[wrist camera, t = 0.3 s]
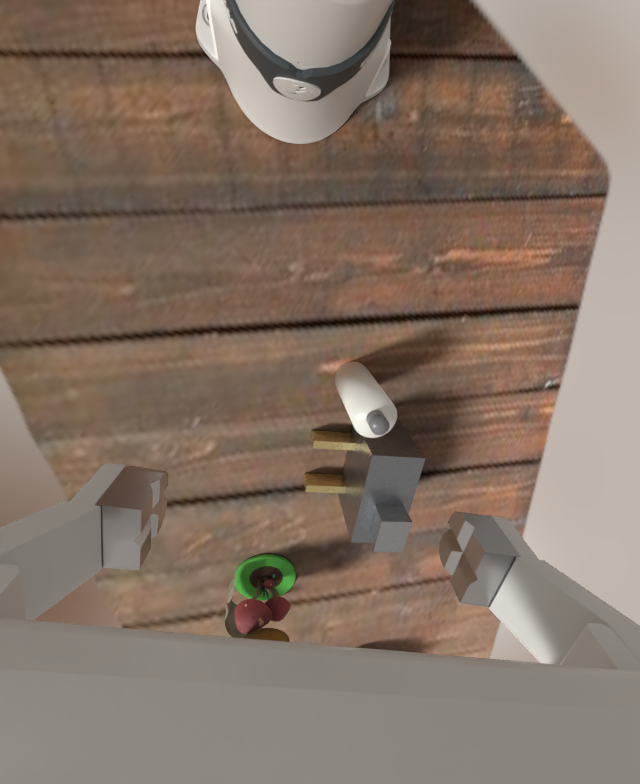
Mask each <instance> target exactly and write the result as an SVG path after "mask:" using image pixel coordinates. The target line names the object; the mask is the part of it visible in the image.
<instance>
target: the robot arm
mask: <svg viewBox="0 0 640 784" xmlns="http://www.w3.org/2000/svg"><path fill="white" fill-rule="evenodd" d="M395 1H396V0H200V5H199V10H198V16H197V21H196V34H197V39H198V42H199V44H200V46H201V47H202V49H203V50H204V51H205V53H206V54H207V55H208V56H209V57H210V58H211V60H212V61H213V62H214V63H215V64H216V65H217V66H218V67H219V68H220V69H221V71H222V72H223V74H224V76H225V78H226V80H227V82H228V85H229V87H230V89H231V91H232V94H233V96H234V98H235V100H236V101H237V103H238V105H239V106H240V108H241V109H242V111H243V112H244V113H245V115H246V116H247V117H248V118H249V119H250V120H251V121H252V122H253V123H254V124H255V125H256V126H257V127H258V128H259V129H261V130H262V131H263V132H265V133H266V134H268V135H270V136H272V137H274V138H276V139H278V140H281V141H284V142H288V143H295V144H305V143H312V142H316V141H319V140H321V139H324V138H326V137H328V136H329V135H331V134H332V133H334V132H335V131H337V130H338V129H339V128H340V127H341V126H342V125H343V124H344V123H345V122H346V121H347V120H348V118H349V117H350V116H351V114H352V113H353V112H354V110H355V109H356V108H357V107H358V106H359V105H360V104H361V103H362V102H364V101H366V100H368V99H370V98H372V97H374V96H375V95H377V94H379V93H380V92H381V91H382V90H383V89H384V87H385V86H386V83H387V81H388V78H389V59H390V46H391V40H390V22H391V14H392V11H393V8H394V4H395ZM208 17H209V20H208ZM167 485H168V473H167V471H160V470H154V469H148V468H142V467H135V466H127V465H122V464H115V463H106V464H104V465H103V466H102V467H101V468H100V469H99V470H98V471H97V472H96V473H95V474H94V475H93V477H92V478H91V479H90V480H89V481H88V482H87V483H86V484H85V485H84V486H83V488H82V489H81V490H80V491H79V492H78V493H77V494H76V495H75V496H74V497H73V499H72V500H71V501H70V502H64V501H63V502H60V503H58V504H55V505H53V506H51V507H48V508H45V509H43V510H41V511H38V512H36V513H34V514H31V515H29V516H26V517H24V518H21V519H19V520H16V521H14V522H12V523H9V524H7V525H4V526H2V527H0V784H640V626H639V625H638V624H636V623H635V622H633V621H632V620H631V619H629V618H628V617H626V616H625V615H623V614H622V613H620V612H619V611H617V610H616V609H614V608H613V607H612V606H610V605H609V604H607V603H606V602H604V601H603V600H601V599H600V598H598V597H597V596H595V595H594V594H592V593H591V592H590V591H588V590H586V589H585V588H584V587H582V586H581V585H579V584H578V583H576V582H575V581H573V580H572V579H571V578H569V577H568V576H566V575H565V574H563V573H562V572H560V571H559V570H557V569H556V568H554V567H553V566H551V565H550V564H549V563H547V562H546V561H543V560H539V559H538V558H537V556H536V555H535V554H534V552H533V551H532V550H531V549H530V547H529V546H528V545H527V543H526V542H525V541H524V539H523V538H522V537H521V536H520V534H519V533H518V532H517V530H516V529H515V528H514V527H513V525H512V524H511V523H510V521H509V520H508V519H506V518H504V517H501V516H491V515H487V516H486V515H478V514H471V513H463V512H456V511H455V512H454V513H453V514H452V515H451V517H450V519H449V521H448V523H449V526H450V528H451V529H449V530H448V531H447V532H445V533H444V534H443V536H442V538H441V541H440V548H439V554H440V559H441V562H442V564H443V567H444V568H445V569H446V570H447V571H448V572H449V573H450V574H451V575H452V578H451V581H450V582H451V584H452V587H453V589H454V591H455V593H456V595H457V598H458V600H459V602H460V603H462V604H469V605H477V606H484V607H490V608H489V609H490V610H491V611H492V612H493V613H494V614H495V615H496V616H497V618H498V619H499V620H500V621H501V622H502V623H503V624H504V625H505V626H506V627H507V628H508V629H509V630H510V631H511V632H512V633H513V634H514V635H515V636H516V638H517V639H518V640H519V641H520V642H521V643H522V644H523V645H524V646H525V647H526V648H527V649H528V650H529V651H530V652H531V653H532V654H533V655H534V657H535V658H536V659H537V660H538V661H539V662H540V663H535V662H522V661H511V660H498V659H487V658H475V657H463V656H451V655H439V654H428V653H416V652H404V651H392V650H380V649H368V648H356V647H344V646H332V645H320V644H308V643H296V642H284V641H272V640H259V639H247V638H235V637H223V636H211V635H199V634H187V633H175V632H163V631H151V630H139V629H127V628H115V627H103V626H91V625H79V624H67V623H55V622H43V621H33V620H34V619H36V618H37V617H38V616H39V615H41V614H42V613H44V612H45V611H46V610H47V609H49V608H50V607H52V606H53V605H54V604H56V603H57V602H58V601H60V600H61V599H63V598H64V597H65V596H67V595H68V594H69V593H71V592H72V591H73V590H75V589H76V588H77V587H79V586H80V585H81V584H83V583H84V582H85V581H87V580H88V579H90V578H91V577H92V576H94V575H95V574H96V573H98V572H99V571H100V570H102V567H104V568H118V569H131V570H140V568H141V566H142V564H143V562H144V560H145V558H146V556H147V554H148V552H149V550H150V548H151V538H153V537H154V536H156V535H157V534H158V532H159V530H160V528H161V525H162V522H163V519H164V516H165V511H166V505H167V498H166V496H165V495H164V494H163V493H164V491H165V489H166V487H167Z"/></svg>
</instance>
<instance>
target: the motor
mask: <svg viewBox="0 0 640 784" xmlns="http://www.w3.org/2000/svg"><path fill="white" fill-rule="evenodd" d="M311 442H312V447H313V448H319V449H336V450H347V455H346V459H345V464H344V469H343V474H342V475H335V474H313V473H305V474H304V485H305V492H320V493H338V495H339V499H340V503H341V506H342V510H343V514H344V517H345V521H346V525H347V529H348V532H349V536H350V540H351V542H362V543H371V546H372V549H373V552H403V550H404V546H405V543H406V540H407V537H408V534H409V531H410V528H411V524H412V521H411V519H410V517H409V515H408V514H409V511H410V507H411V504H412V501H413V498H414V494H415V491H416V488H417V485H418V482H419V478H420V475H421V472H422V469H423V465H424V462H425V459H426V458H425V457H424V455H423V454H422V452H421V451H420V450H419V448H418V447H417V445H416V444H415V443H414V441H413V440H412V438H411V437H410V436H409V434H408V433H407V431H406V430H405V428H404V427H403V426H402V424H401V423H400V421H396V423H395V425H394V426H393V428H392V429H391V430H390V431H389V432H388V433H386V434H385V435H383V436H380V437H376V438H368V437H364V436H362V435H360V434H359V433H358V432H357V431H356V430H355V428H354V426H352V431H351V433H346V432H332V431H317V430H312V431H311Z"/></svg>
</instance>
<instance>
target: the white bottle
mask: <svg viewBox="0 0 640 784" xmlns="http://www.w3.org/2000/svg"><path fill="white" fill-rule="evenodd" d="M334 382H335V386H336V388H337V390H338V392H339V395H340V397H341V399H342V401H343V403H344V406H345V408H346V410H347V412H348V415H349V417H350V419H351V421H352V423H353V426H354V428H355V430H356V431H357V432H358V433H359V434H360V435H362V436H364V437H368V438H376V437H380V436H383V435H385V434H386V433H388V432H389V431H390V430H391V429H392V428H393V426H394V425H395V423H396V420H397V410H396V407H395V406H394V404H393V403H392V401H391V400H390V399H389V397H388V396H387V395H386V393H385V392H384V391H383V389H382V388H381V387H380V385H379V384H378V383H377V381H376V380H375V379H374V377H373V376H372V375H371V373H370V372H369V371H368V369H367V368H366V367H365V366H364V365H363V364H361V363H359V362H347V363H345V364H343V365H342V366H340V367H339V368H338V370H337V371H336V373H335V377H334Z"/></svg>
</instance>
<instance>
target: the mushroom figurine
mask: <svg viewBox="0 0 640 784" xmlns="http://www.w3.org/2000/svg"><path fill="white" fill-rule="evenodd" d="M295 577H296V576H295V569H294V567H293V565H292V564H291V563H290V562H289V561H288V560H287V559H285V558H283V557H281V556H278V555H272V554H264V555H258V556H254V557H251V558H249V559H247V560H246V561H244V562H243V563H242V564H241V565H240V566H239V567H238V568H237V570H236V572H235V576H234V578H233V579H232V581H231V583H230V586H229V591H228V600H227V607H226V618H225V626H226V629H227V631H228V633H229V634H230V635H231V636H232V637H235V638H247V639H259V640H272V641H284V642H290V641H289V637H288V636H287V635H286V634H285V633H284V632H283V631H281V630H278V629H274V628H262V627H263V626H265V625H266V624H268V622H269V621H270V620H271V621H275V622H277V621H280V620H282V619H283V618H284V617H285V616H286V614H287V613H288V611H289V609H290V603H289V602H288V601H287V600H286V599H285V598H282V597H279V596H281V595H283V594H285V593H286V592H287V591H289V590H290V588H291V587H292V586H293V584H294V582H295ZM234 584H235V587H236V589H237V590H238V592H239V593H241V594H242V595H243V596H245V597H247V598H250V599H247V600H244V601H242V602H240V603H239V604H238V605H236V604H235V603H233V602H232V597H233V593H234ZM260 600H268V601H267V602H266V603H265V604H264V603H263V602H262V601H260Z"/></svg>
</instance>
